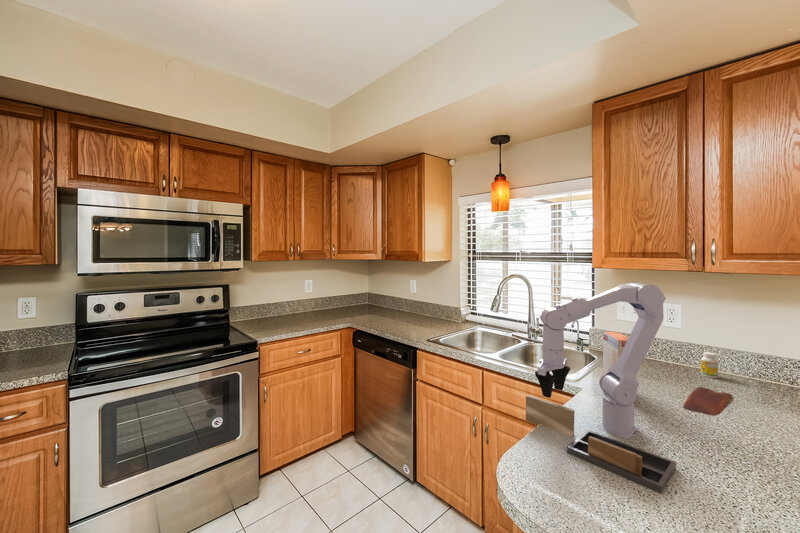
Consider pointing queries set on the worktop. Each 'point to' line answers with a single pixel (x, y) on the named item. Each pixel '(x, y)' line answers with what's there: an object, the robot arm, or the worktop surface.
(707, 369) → the supplement bottle
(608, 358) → the cracker box
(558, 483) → the worktop surface
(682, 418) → the worktop surface
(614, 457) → the oak offcuts
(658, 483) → the rack
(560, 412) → the birch sheet
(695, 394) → the reddish brown cloth
